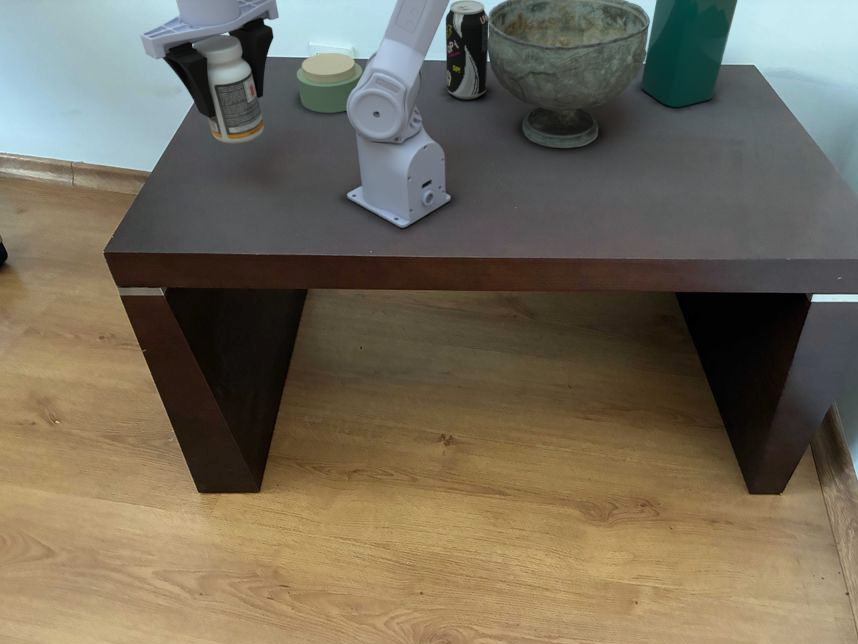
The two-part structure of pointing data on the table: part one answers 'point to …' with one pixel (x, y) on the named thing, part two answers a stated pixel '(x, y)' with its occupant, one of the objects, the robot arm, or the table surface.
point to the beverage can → (466, 49)
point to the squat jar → (327, 82)
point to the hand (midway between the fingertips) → (232, 104)
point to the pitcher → (686, 49)
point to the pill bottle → (231, 91)
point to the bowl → (566, 61)
